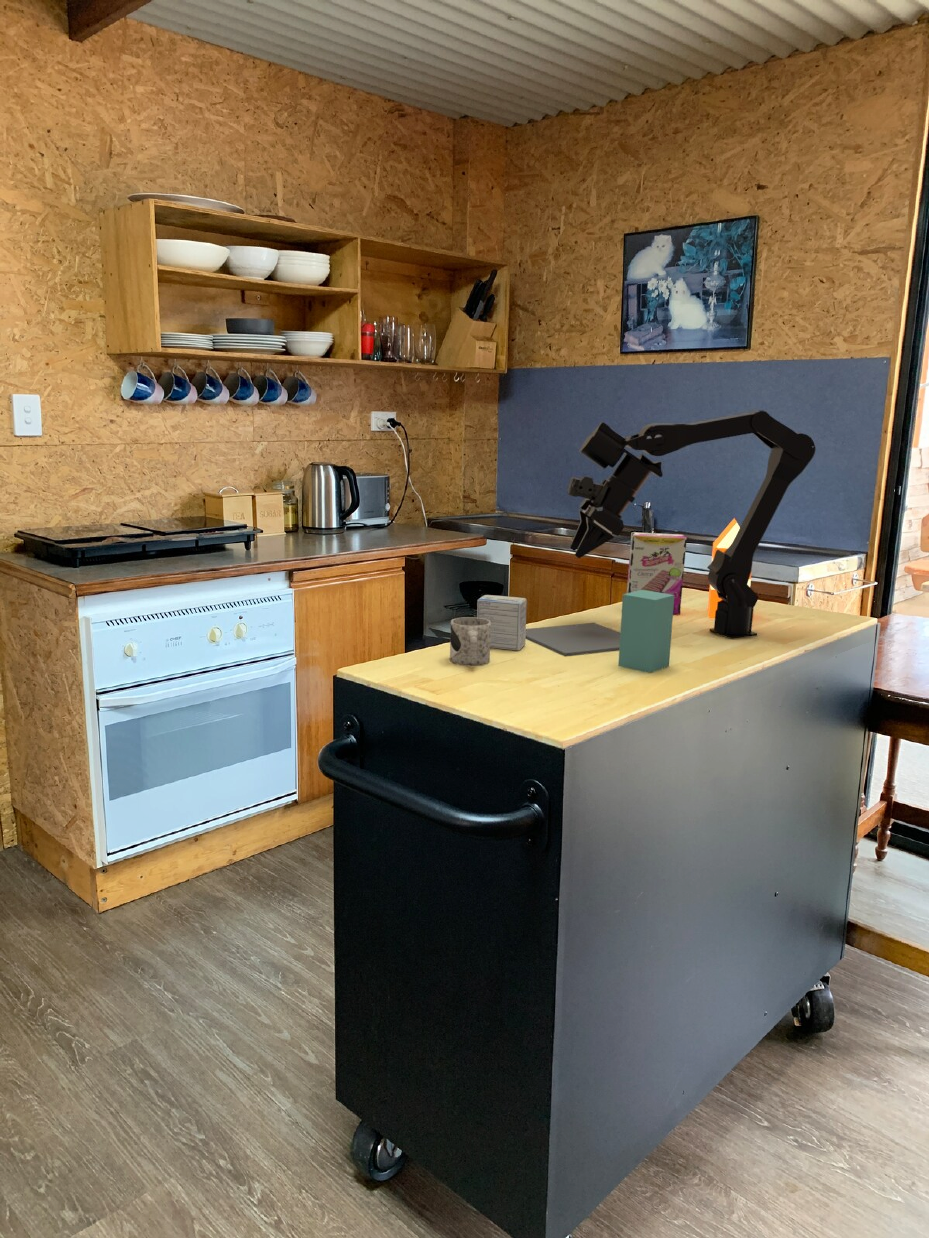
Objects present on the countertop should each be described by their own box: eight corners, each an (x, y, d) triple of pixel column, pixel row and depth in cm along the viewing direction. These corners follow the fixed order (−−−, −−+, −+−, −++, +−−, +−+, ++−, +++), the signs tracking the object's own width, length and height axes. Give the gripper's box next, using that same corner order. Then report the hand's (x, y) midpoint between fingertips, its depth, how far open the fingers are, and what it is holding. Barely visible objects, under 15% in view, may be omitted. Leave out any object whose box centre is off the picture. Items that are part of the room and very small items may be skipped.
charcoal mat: (593, 625, 182) (593, 622, 182) (650, 646, 166) (650, 643, 166) (513, 632, 174) (513, 630, 174) (565, 656, 158) (565, 653, 158)
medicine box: (525, 645, 165) (527, 597, 163) (519, 651, 161) (520, 602, 159) (483, 641, 167) (484, 594, 165) (475, 647, 163) (477, 598, 161)
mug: (448, 655, 157) (449, 617, 156) (487, 655, 158) (488, 617, 156) (452, 671, 147) (453, 631, 146) (493, 671, 148) (495, 631, 146)
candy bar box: (626, 613, 193) (631, 534, 190) (625, 608, 198) (630, 531, 195) (681, 615, 192) (687, 536, 189) (678, 610, 197) (684, 533, 194)
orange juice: (708, 618, 191) (716, 520, 186) (706, 609, 199) (714, 516, 195) (747, 620, 189) (757, 522, 185) (744, 612, 197) (753, 518, 193)
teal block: (637, 659, 158) (642, 589, 155) (669, 666, 154) (674, 595, 151) (618, 665, 153) (622, 594, 151) (650, 673, 149) (655, 600, 147)
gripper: (582, 456, 179) (536, 522, 182) (594, 461, 161) (542, 535, 164) (629, 489, 180) (582, 554, 183) (646, 498, 162) (593, 570, 165)
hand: (574, 553), depth 174 cm, fingers open, 9 cm apart
